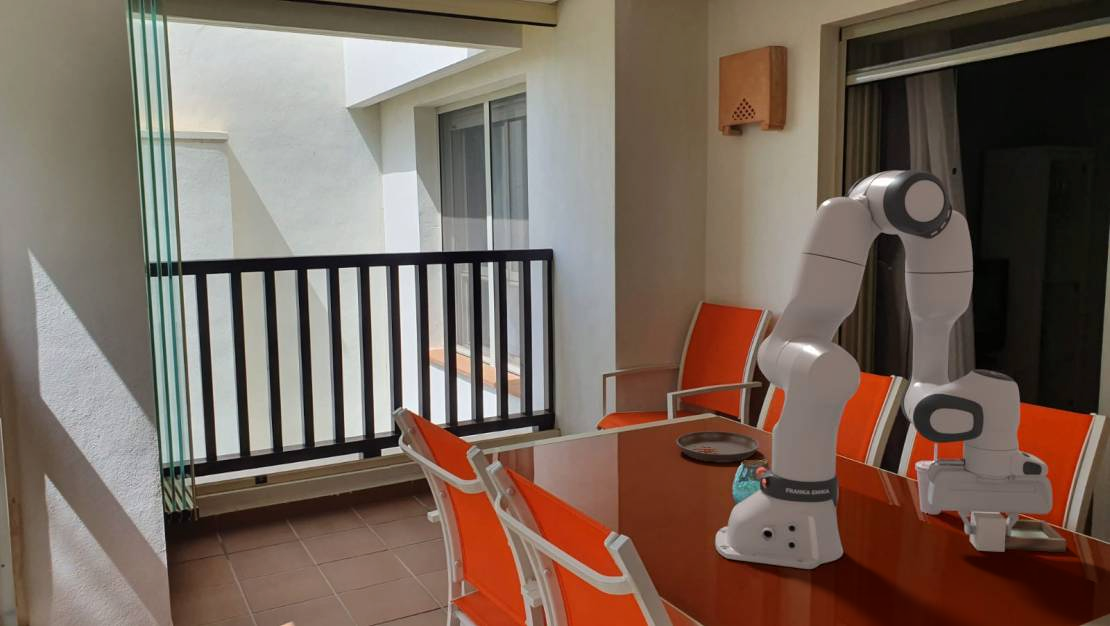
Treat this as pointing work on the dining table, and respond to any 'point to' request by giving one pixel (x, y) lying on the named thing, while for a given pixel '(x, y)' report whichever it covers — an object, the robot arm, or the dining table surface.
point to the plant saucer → (718, 445)
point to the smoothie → (925, 484)
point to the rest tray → (1034, 537)
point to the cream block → (988, 531)
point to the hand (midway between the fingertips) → (987, 534)
